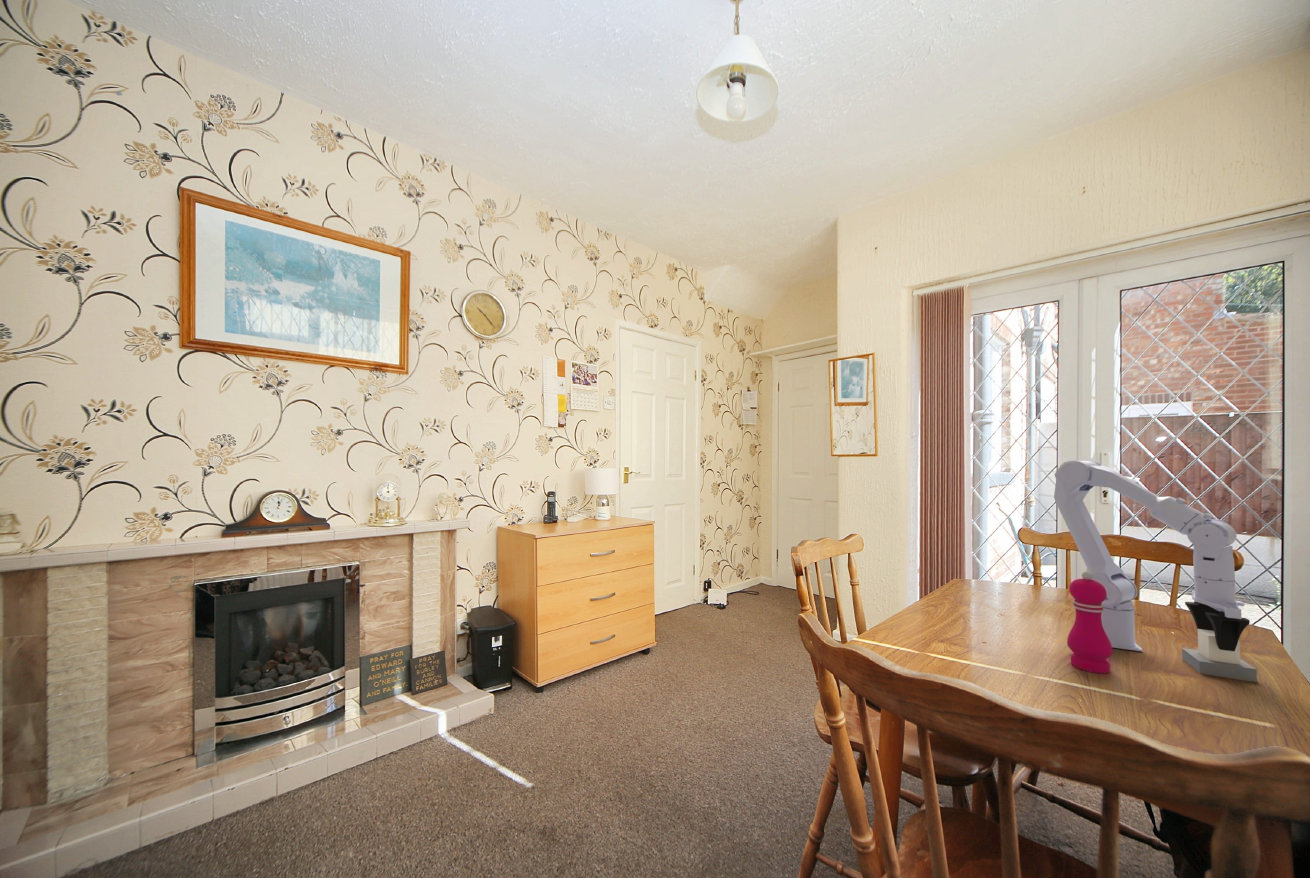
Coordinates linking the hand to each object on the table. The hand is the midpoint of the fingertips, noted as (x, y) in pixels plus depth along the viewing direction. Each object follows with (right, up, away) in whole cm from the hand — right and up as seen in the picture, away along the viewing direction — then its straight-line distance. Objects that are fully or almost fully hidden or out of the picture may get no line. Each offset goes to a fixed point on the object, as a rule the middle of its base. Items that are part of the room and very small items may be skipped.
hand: (1216, 643), depth 103 cm
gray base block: (0, -6, 0) cm, 6 cm away
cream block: (0, -3, 0) cm, 3 cm away
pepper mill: (-25, -6, +1) cm, 26 cm away
